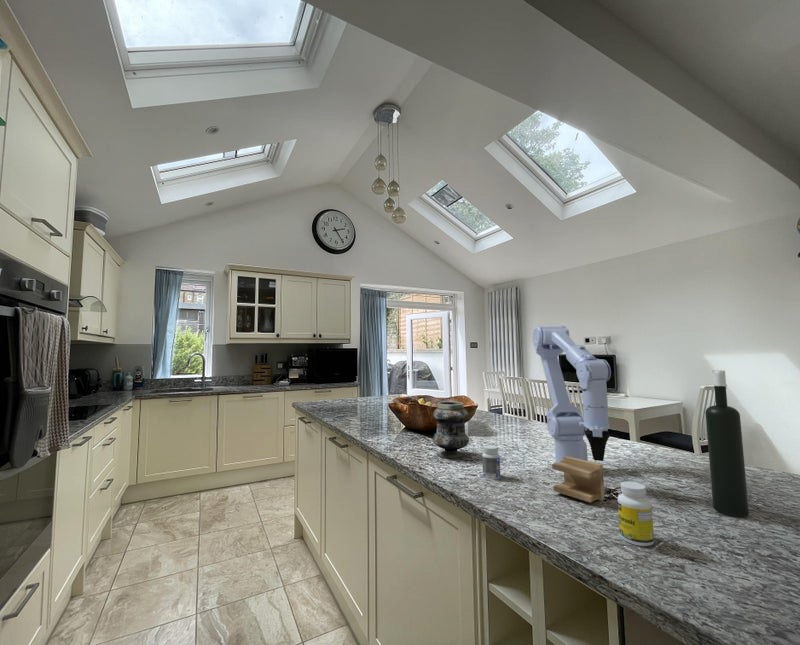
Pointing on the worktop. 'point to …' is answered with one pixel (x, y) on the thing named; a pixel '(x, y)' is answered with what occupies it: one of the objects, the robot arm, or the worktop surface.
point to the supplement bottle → (635, 514)
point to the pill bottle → (491, 462)
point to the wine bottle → (726, 453)
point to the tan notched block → (580, 479)
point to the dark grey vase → (450, 429)
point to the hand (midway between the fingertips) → (598, 460)
